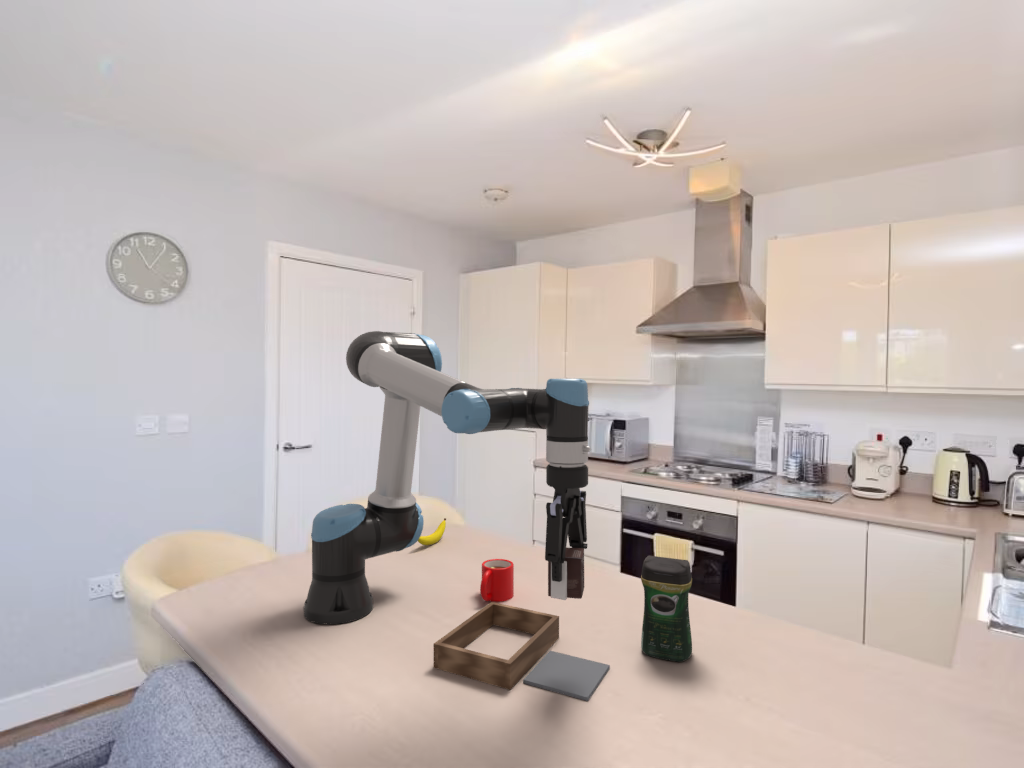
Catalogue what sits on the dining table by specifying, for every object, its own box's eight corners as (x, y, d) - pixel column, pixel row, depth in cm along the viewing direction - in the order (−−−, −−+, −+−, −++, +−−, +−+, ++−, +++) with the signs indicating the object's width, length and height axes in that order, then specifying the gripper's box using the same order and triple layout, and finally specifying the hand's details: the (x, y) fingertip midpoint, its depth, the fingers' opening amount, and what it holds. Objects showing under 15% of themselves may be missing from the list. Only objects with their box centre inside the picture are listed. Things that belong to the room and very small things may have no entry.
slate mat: (523, 683, 100) (523, 679, 100) (550, 653, 111) (550, 650, 111) (587, 701, 94) (587, 697, 94) (609, 668, 105) (609, 665, 105)
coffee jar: (694, 648, 113) (694, 555, 113) (689, 667, 106) (690, 568, 105) (645, 639, 117) (645, 549, 117) (637, 656, 110) (638, 560, 109)
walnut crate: (433, 667, 105) (433, 643, 105) (491, 622, 125) (491, 601, 124) (510, 689, 98) (510, 664, 98) (559, 637, 117) (559, 616, 117)
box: (581, 600, 99) (581, 558, 99) (547, 597, 100) (547, 555, 100) (584, 587, 105) (584, 547, 105) (552, 585, 106) (552, 545, 106)
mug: (468, 604, 134) (468, 571, 134) (490, 587, 145) (490, 557, 145) (498, 610, 131) (498, 576, 131) (518, 592, 142) (518, 561, 142)
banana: (411, 552, 173) (411, 532, 173) (441, 536, 191) (441, 517, 191) (419, 554, 172) (419, 533, 172) (449, 537, 190) (449, 518, 190)
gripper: (566, 473, 91) (565, 615, 92) (604, 458, 109) (604, 576, 109) (524, 470, 95) (524, 606, 95) (568, 455, 113) (568, 570, 113)
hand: (567, 590), depth 102 cm, fingers closed on box, 7 cm apart
